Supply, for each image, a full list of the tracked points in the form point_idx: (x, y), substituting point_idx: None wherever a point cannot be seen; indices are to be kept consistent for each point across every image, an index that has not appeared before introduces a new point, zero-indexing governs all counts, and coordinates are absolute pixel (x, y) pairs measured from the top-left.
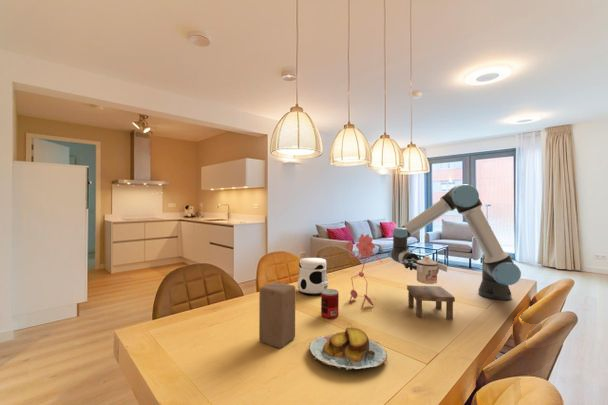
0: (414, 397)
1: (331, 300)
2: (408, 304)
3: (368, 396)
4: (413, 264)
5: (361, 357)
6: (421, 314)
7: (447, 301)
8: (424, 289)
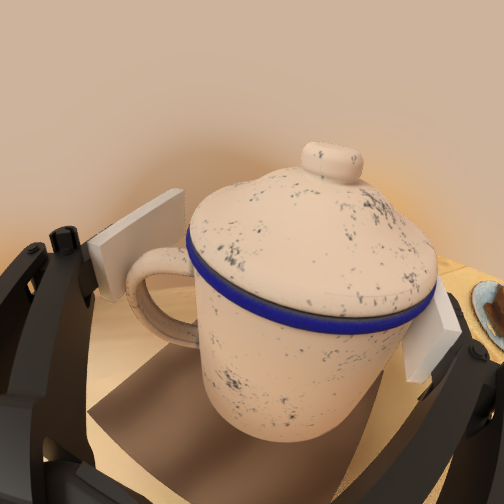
0: (448, 260)
1: None
2: None
3: (482, 273)
4: (451, 335)
5: (499, 286)
6: None
7: None
8: (251, 439)
